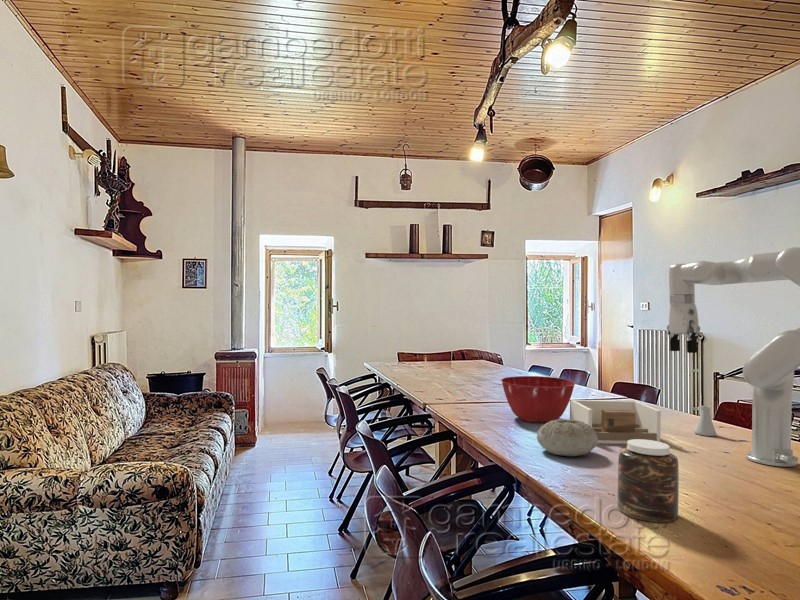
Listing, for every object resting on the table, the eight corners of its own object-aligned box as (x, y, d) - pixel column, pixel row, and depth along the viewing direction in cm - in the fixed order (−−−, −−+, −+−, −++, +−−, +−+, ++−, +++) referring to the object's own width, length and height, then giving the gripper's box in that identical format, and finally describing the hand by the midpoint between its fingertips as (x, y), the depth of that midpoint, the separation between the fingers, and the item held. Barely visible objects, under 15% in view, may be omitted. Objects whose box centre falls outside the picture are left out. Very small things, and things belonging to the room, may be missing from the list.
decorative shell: (525, 447, 170) (526, 415, 170) (573, 443, 175) (574, 413, 175) (558, 463, 153) (559, 428, 153) (610, 459, 158) (611, 425, 158)
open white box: (660, 444, 176) (660, 410, 177) (588, 443, 176) (588, 409, 176) (635, 431, 194) (635, 401, 195) (569, 430, 194) (570, 399, 194)
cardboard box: (635, 439, 178) (636, 412, 178) (605, 439, 178) (606, 412, 178) (630, 436, 182) (630, 410, 182) (601, 436, 181) (601, 409, 182)
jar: (659, 502, 123) (660, 437, 123) (688, 523, 111) (690, 451, 111) (609, 502, 122) (610, 436, 123) (633, 523, 111) (634, 450, 111)
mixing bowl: (542, 431, 192) (543, 388, 192) (485, 416, 215) (486, 378, 215) (589, 422, 209) (590, 382, 209) (531, 409, 232) (532, 374, 232)
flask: (710, 432, 195) (711, 405, 195) (721, 437, 188) (721, 408, 188) (690, 431, 196) (690, 404, 196) (699, 436, 189) (700, 408, 189)
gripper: (709, 299, 171) (710, 353, 170) (678, 301, 188) (679, 350, 188) (686, 299, 171) (687, 353, 170) (657, 301, 188) (658, 350, 187)
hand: (683, 351), depth 179 cm, fingers open, 9 cm apart
